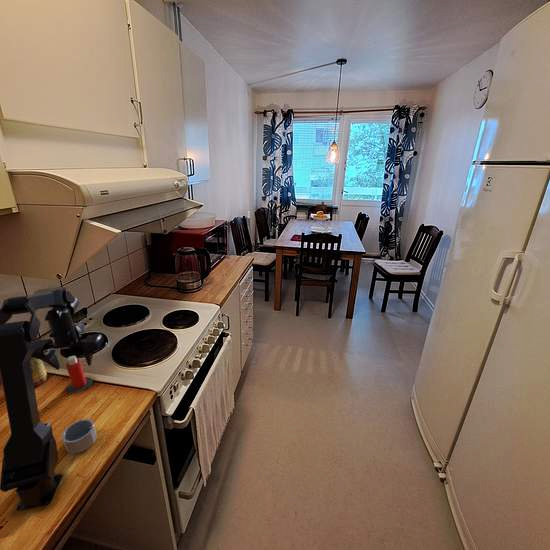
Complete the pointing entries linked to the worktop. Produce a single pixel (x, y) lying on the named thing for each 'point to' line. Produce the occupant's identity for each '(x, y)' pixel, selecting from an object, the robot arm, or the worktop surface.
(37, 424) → the robot arm
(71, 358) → the ketchup
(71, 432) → the short metal can
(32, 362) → the sauce bottle
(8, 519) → the worktop surface
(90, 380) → the coaster
